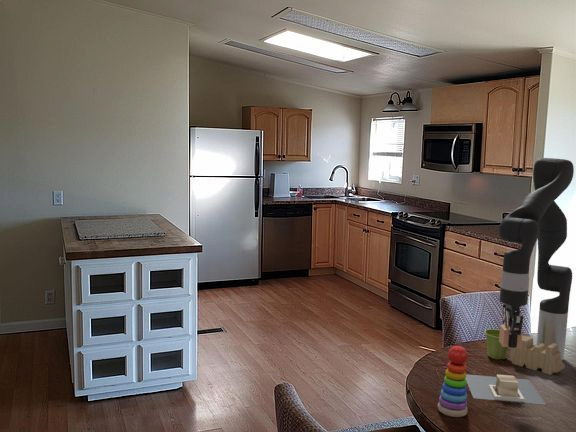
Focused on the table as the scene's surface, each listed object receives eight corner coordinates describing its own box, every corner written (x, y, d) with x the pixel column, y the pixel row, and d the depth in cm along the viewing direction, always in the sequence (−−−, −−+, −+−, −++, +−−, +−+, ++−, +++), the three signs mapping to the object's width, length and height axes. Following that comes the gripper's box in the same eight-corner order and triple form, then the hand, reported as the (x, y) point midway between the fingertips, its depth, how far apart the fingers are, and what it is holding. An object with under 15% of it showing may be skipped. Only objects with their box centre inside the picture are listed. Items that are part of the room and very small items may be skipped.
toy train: (557, 380, 179) (560, 350, 178) (505, 364, 191) (508, 336, 190) (563, 375, 183) (566, 346, 182) (512, 360, 195) (515, 333, 194)
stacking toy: (451, 420, 149) (456, 353, 147) (431, 408, 156) (435, 343, 154) (473, 415, 152) (478, 349, 150) (452, 403, 159) (456, 339, 157)
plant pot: (513, 355, 200) (515, 332, 199) (507, 363, 192) (509, 339, 191) (486, 350, 204) (487, 327, 204) (480, 357, 197) (481, 334, 196)
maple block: (495, 390, 167) (496, 374, 166) (512, 392, 166) (513, 375, 165) (499, 397, 162) (500, 381, 161) (517, 399, 161) (518, 382, 160)
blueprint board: (463, 377, 179) (463, 371, 178) (528, 382, 176) (529, 376, 175) (473, 401, 161) (473, 394, 161) (546, 408, 158) (546, 401, 158)
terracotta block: (498, 341, 165) (500, 324, 164) (516, 342, 164) (517, 326, 164) (502, 346, 160) (504, 329, 159) (521, 348, 159) (522, 331, 159)
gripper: (535, 294, 153) (530, 353, 154) (521, 282, 167) (517, 337, 169) (506, 292, 154) (502, 351, 156) (495, 280, 168) (491, 335, 170)
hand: (509, 343), depth 162 cm, fingers closed on terracotta block, 5 cm apart
